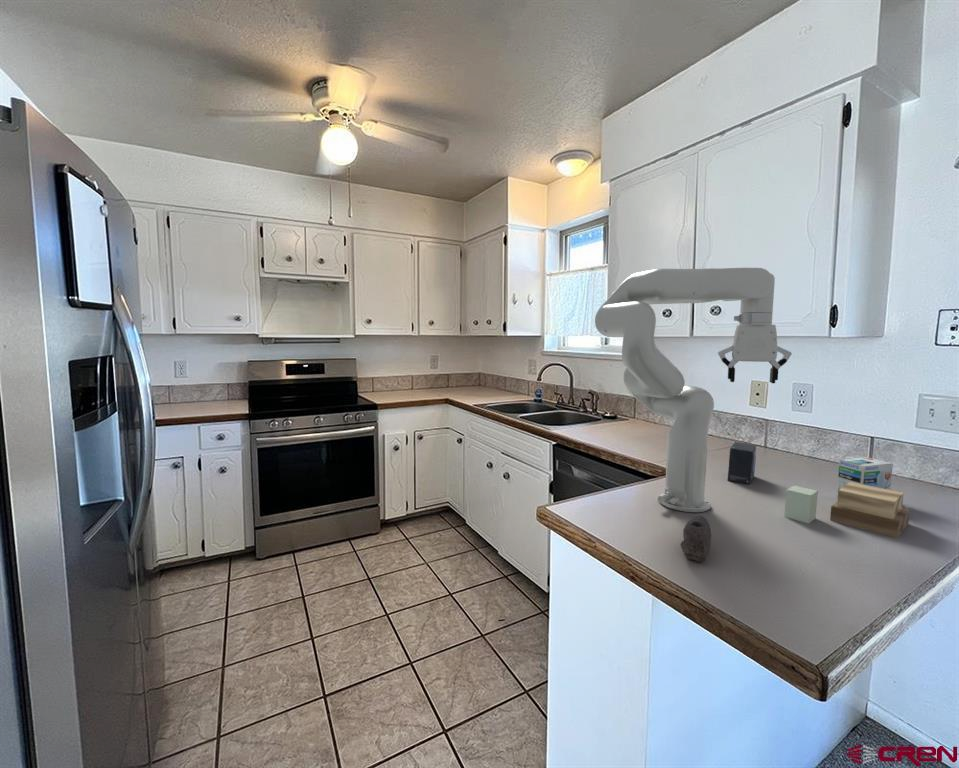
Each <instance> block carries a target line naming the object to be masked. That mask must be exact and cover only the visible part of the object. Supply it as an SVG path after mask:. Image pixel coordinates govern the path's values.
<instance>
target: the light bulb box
mask: <svg viewBox="0 0 959 768" xmlns="http://www.w3.org/2000/svg"><path fill="white" fill-rule="evenodd" d="M893 467H894V463H892V462H888V461H885V460H879V459H876V458H873V457H868V456H864V457H855V458H854V457H852V458H847V459H846V458H845V459H839V464H838V475H837V488H836V498H838V491H839V490H840V489H841V488H842V487H844V486H845V485H846V484H848V483H849V482H854V483H859V484H864V485H869V486H874V487H879V488H884V489H889V490H891V485H892V476H893Z"/></svg>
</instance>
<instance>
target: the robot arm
mask: <svg viewBox="0 0 959 768" xmlns="http://www.w3.org/2000/svg"><path fill="white" fill-rule="evenodd" d="M775 278H776V277H775V276H774V274H773V273H771V272H769V270H767V269H766V268H762V267H730V268H729V267H728V268H725V267H724V268H714V267H713V268H655V269H650V270H649V269H648V270H645V271H641V272H640V271H639V272H635V273H633V274H630V276H628V277H627V278H626V279H625V280H623V281H622V283H620V285H619V286H618V287H617V288H616V289H615V290H614V291H613V292H612V293H611V295H609V296H608V297H607V299H605V301H604V302H603V304H601V306H599V308H598V310H597V312H596V314H595V316H594V317H595V318H594V325H595V328H596V331H598V332H599V334H601V335H602V336H605V337H607V338H622V345H621V346H622V347H621V358H622V360H621V361H622V364H623V365H624V366H625V370H624V373H623V383H624V386H625V388H626V390H627V391H628V392H629V393H630V394H631V395H632V396H633V397H634V399H636V400H637V401H638V402H639V403H641V404H642V405H643V406H644V407H645V408H646V409H647V410H648V411H649V412H651V413H653V414H654V415H656V416H659V417H662V418H667V419H671V420H674V423H673V424H672V425H671V428H670V430H669V432H668V434H667V440H666V463H665V464H666V465H665V484H664V485H665V487H664V492H662V493H660V494H659V495H658V496H657V501H658V502H659V503H660V504H661V505H662V506H664V507H667V508H669V509H671V510H675V511H680V512H685V513H703V512H707V511H708V510H710V508H711V507H712V506H711V505H712V504H711V502H710V500H709V499H707V498H706V497H705V493H706V491H705V490H706V474H707V473H706V472H707V457H708V456H707V454H708V438H709V436H708V435H709V428H710V424H711V419H712V416H713V414H714V408H715V403H714V402H715V401H714V398H713V396H712V394H711V393H710V392H709V391H707V390H706V389H704V388H702V387H699V386H695V385H689V384H688V385H687V384H685V378H684V375H683V374H682V372H681V371H680V369H679V368H678V367H677V366H676V365H675V364H674V363H673V362H671V360H670V359H669V358H667V356H666V355H664V353H663V352H662V351H661V350H660V349H659V348H658V347H657V345H656V343H655V329H656V323H657V318H656V313H655V311H654V309H653V308H652V306H651V305H666V304H668V305H671V304H672V305H673V304H674V305H676V304H700V303H701V304H702V303H712V302H718V301H723V302H734V301H735V302H736V301H740V311H739V314H738V315H734V316H733V321H735V322H738V323H739V324H738V325H736V327H735V331H734V337H733V342H732V345H731V346H729V347H725V348H724V349H721V350H719V351H718V352H717V355H718V356H719V358H720V361H721V362H722V363H723V364H724V365H725V366H726V367H727V379H728V380H729V382H731V383H735V379H736V378H735V376H736V368H735V365H736V364H738V362H756V363H757V362H767V363H769V365H770V366H771V368H770V370H769V371H770V372H769V383H771V384H776V381H778V380H779V369H780V368H781V367H783V366H784V365H785V364H786V363H787V362H788V360H789V359H790V357H791V356H792V351H790V350H788V349H785V348H783V347H781V346H778V334H777V333H778V332H777V326H776V324H773V312H774V298H775V297H774V296H775ZM728 353H731V357H732V358H731V360H728V358H727V357H726V354H728ZM778 353H780V354H782V356H781V359H779V360H778V361H777V357H778Z"/></svg>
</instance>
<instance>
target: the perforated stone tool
mask: <svg viewBox="0 0 959 768" xmlns="http://www.w3.org/2000/svg"><path fill="white" fill-rule="evenodd" d="M682 534H683V536H682V537H683V540H682V542H681V543H680V547H681V550H682V553H683V555H684V556H685V558H688V559H689V560H692V561H695V562H698V563H702V562H704V561H705V560H706V559H707V557H708V555H709V552H710V548H711V544H712V528H711V525H710V522H709V521H708V520H707V518H705V517H704V516H701V515H700V516H699V515H698V516H697V515H696V516H694V517H692V518H690V519H689V520H688V521H687V523H685V525H684V528H683V533H682Z"/></svg>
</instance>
